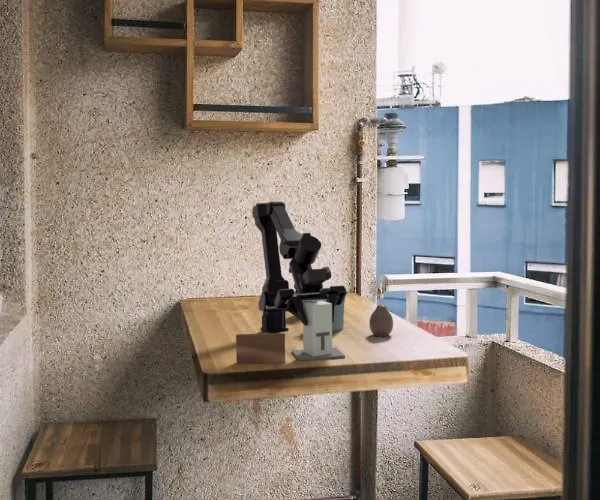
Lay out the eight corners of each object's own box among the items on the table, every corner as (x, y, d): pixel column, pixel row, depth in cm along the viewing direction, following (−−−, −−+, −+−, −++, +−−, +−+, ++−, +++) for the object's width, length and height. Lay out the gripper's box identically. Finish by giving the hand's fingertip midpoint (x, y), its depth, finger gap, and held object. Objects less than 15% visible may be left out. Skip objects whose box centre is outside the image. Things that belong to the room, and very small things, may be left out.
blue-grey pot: (322, 333, 200) (321, 293, 199) (307, 326, 209) (306, 288, 208) (351, 329, 205) (351, 290, 203) (335, 323, 214) (335, 286, 213)
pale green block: (303, 351, 175) (302, 302, 174) (321, 349, 177) (321, 300, 176) (313, 356, 170) (313, 305, 168) (332, 354, 172) (332, 303, 171)
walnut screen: (236, 362, 167) (236, 334, 167) (284, 360, 168) (284, 333, 167) (236, 363, 166) (236, 335, 165) (285, 362, 166) (284, 334, 166)
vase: (378, 338, 192) (378, 308, 191) (364, 334, 198) (364, 304, 197) (397, 336, 195) (398, 306, 194) (384, 331, 201) (384, 302, 201)
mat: (335, 349, 179) (335, 347, 179) (345, 357, 170) (345, 355, 170) (291, 352, 177) (291, 350, 177) (298, 360, 168) (298, 358, 168)
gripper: (277, 258, 172) (293, 308, 162) (344, 255, 178) (362, 302, 169) (268, 284, 180) (282, 333, 170) (332, 280, 186) (349, 327, 177)
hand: (319, 323), depth 172 cm, fingers open, 7 cm apart
